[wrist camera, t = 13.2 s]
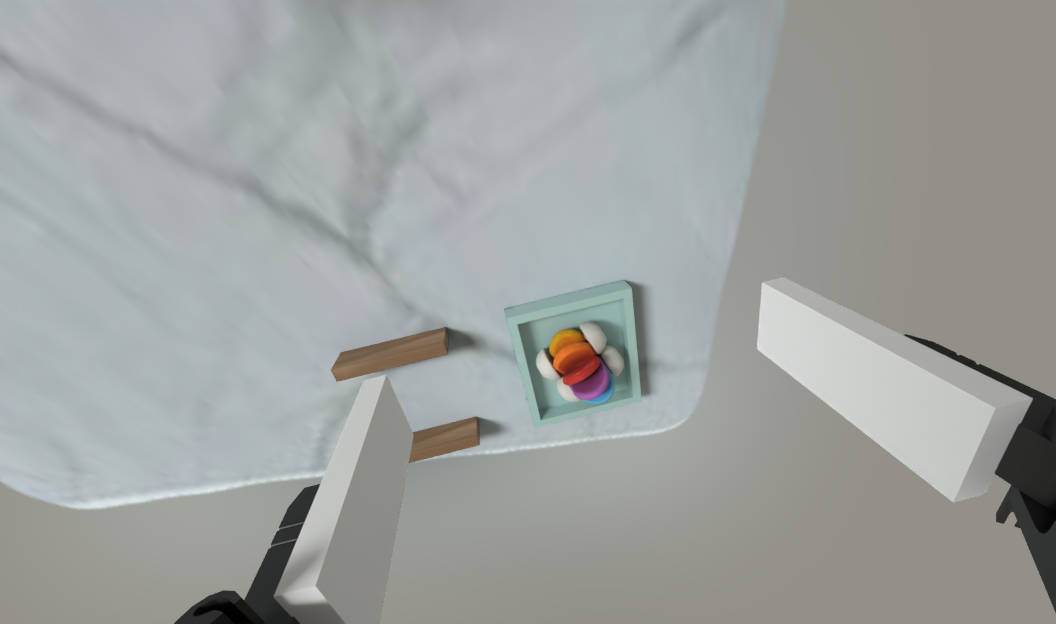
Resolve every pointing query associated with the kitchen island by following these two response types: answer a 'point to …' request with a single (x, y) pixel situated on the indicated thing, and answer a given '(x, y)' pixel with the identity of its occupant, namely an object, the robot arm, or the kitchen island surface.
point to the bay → (403, 354)
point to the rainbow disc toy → (581, 364)
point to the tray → (568, 311)
